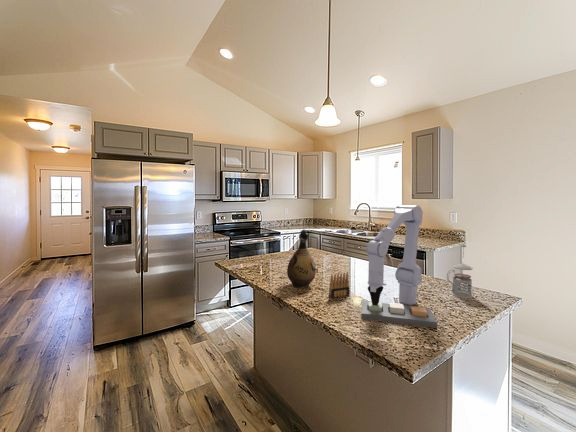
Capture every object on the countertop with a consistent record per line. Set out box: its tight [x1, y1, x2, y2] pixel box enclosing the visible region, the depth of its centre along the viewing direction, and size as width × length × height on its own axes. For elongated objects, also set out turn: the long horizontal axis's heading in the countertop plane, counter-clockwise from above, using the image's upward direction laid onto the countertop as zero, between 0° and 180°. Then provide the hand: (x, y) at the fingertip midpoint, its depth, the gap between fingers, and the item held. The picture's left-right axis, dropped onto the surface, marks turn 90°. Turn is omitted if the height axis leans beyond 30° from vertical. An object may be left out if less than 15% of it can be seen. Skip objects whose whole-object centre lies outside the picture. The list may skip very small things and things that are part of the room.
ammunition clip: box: [328, 272, 350, 299], centre depth 132 cm, size 11×2×12 cm, turn 116°
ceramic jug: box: [286, 229, 317, 289], centre depth 151 cm, size 17×15×30 cm
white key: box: [388, 302, 404, 314], centre depth 110 cm, size 5×5×3 cm
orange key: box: [410, 305, 427, 317], centre depth 108 cm, size 5×5×3 cm
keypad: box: [360, 300, 438, 329], centre depth 110 cm, size 14×26×3 cm, turn 73°
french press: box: [446, 243, 474, 299], centre depth 138 cm, size 10×12×25 cm
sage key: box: [369, 301, 383, 312], centre depth 112 cm, size 5×5×3 cm
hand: (375, 304), depth 112 cm, fingers closed, pressing on sage key
